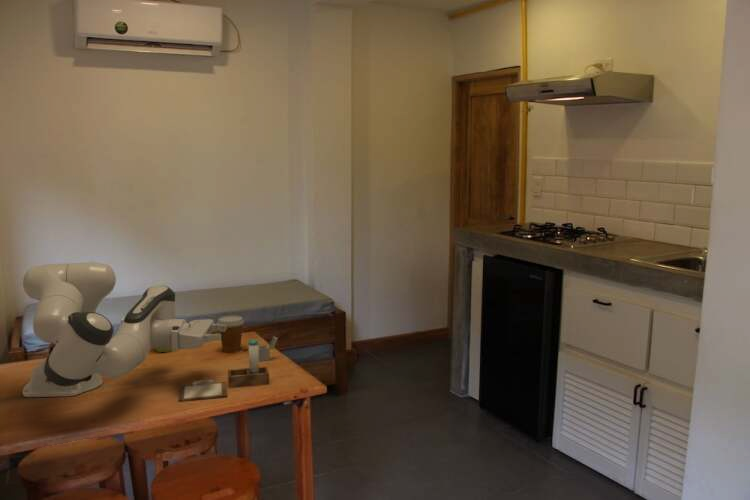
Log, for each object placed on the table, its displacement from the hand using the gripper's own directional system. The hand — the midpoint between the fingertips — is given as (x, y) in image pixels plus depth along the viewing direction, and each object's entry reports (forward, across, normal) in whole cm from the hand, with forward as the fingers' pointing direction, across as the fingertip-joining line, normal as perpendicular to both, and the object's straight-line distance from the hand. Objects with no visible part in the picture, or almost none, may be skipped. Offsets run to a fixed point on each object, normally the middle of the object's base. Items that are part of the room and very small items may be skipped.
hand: (223, 332), depth 202 cm
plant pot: (-28, -33, -16) cm, 46 cm away
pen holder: (+8, +1, -16) cm, 18 cm away
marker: (+10, +1, -16) cm, 19 cm away
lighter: (+12, -20, -16) cm, 28 cm away
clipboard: (-5, +9, -16) cm, 19 cm away
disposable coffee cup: (-3, -32, -16) cm, 36 cm away
